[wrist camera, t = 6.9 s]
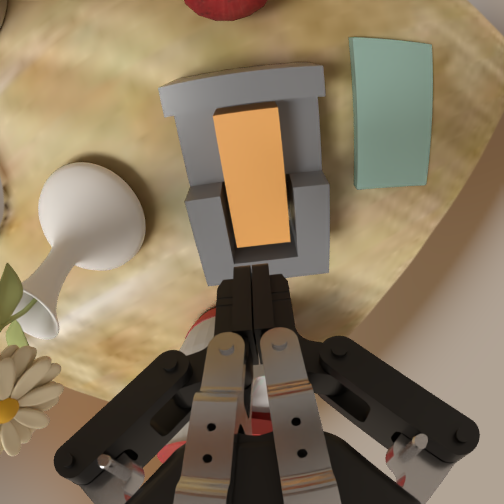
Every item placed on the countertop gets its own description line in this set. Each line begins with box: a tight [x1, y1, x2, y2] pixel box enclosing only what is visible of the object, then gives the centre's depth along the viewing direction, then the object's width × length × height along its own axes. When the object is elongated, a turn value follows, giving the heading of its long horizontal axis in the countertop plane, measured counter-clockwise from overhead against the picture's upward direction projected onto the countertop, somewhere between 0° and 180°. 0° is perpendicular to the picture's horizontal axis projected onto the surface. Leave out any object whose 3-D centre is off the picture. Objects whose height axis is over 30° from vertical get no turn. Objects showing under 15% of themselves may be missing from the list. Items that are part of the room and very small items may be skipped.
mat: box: [349, 37, 433, 190], centre depth 22 cm, size 13×7×1 cm, turn 7°
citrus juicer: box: [157, 308, 273, 463], centre depth 30 cm, size 16×17×20 cm
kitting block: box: [158, 62, 330, 286], centre depth 24 cm, size 16×10×6 cm, turn 7°
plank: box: [213, 101, 290, 248], centre depth 22 cm, size 10×4×2 cm, turn 7°
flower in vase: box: [0, 162, 146, 456], centre depth 18 cm, size 13×11×25 cm
